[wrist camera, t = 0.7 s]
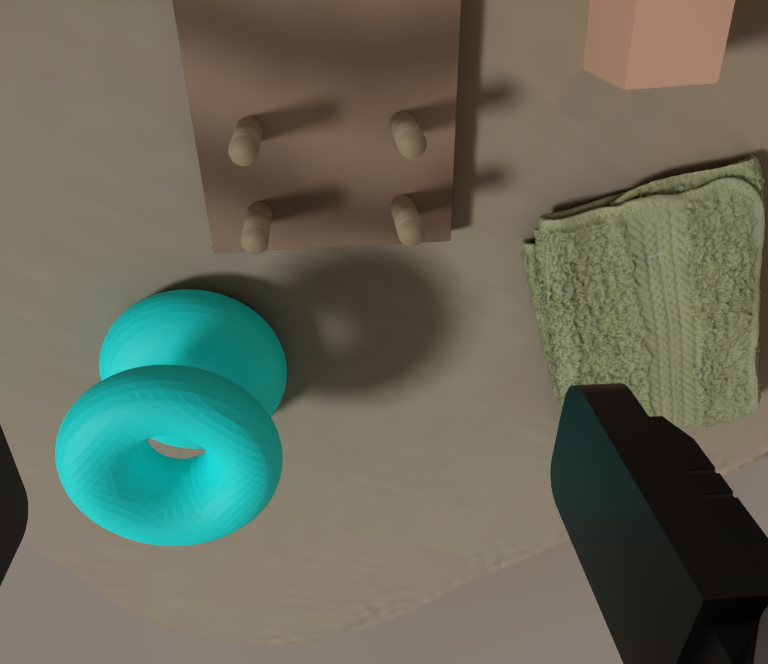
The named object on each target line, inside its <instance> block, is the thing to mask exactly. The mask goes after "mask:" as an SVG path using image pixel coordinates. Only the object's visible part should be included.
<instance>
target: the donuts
mask: <svg viewBox="0 0 768 664" xmlns="http://www.w3.org/2000/svg"><path fill="white" fill-rule="evenodd" d="M99 371H100V378H101V381H100V382H99V383H97V384H95V385H94V386H92V387H91V388H90V389H88V390H87V391H86V392H85V393H84V394H83V395H82V396H81V397H80V398H79V399H78V400H77V401H76V402H75V403H74V404H73V405H72V407H71V408H70V409H69V411H68V412H67V414H66V416H65V418H64V420H63V422H62V424H61V426H60V429H59V432H58V435H57V440H56V450H55V460H56V467H57V471H58V474H59V477H60V480H61V483H62V485H63V487H64V489H65V491H66V493H67V494H68V496H69V497H70V499H71V500H72V502H73V503H74V504H75V505H76V506H77V507H78V508H79V509H80V510H81V511H82V512H83V513H84V514H85V515H86V516H87V517H88V518H90V519H91V520H92V521H94V522H95V523H97V524H98V525H100V526H101V527H103V528H105V529H107V530H109V531H111V532H113V533H115V534H117V535H119V536H122V537H124V538H127V539H130V540H134V541H138V542H142V543H147V544H153V545H162V546H185V545H194V544H200V543H204V542H208V541H212V540H216V539H219V538H221V537H224V536H227V535H229V534H231V533H233V532H235V531H237V530H239V529H240V528H242V527H243V526H245V525H246V524H248V523H249V522H250V521H252V520H253V519H254V518H255V517H256V516H257V515H258V514H259V513H260V512H261V511H262V510H263V509H264V508H265V506H266V505H267V504H268V503H269V501H270V500H271V498H272V496H273V494H274V492H275V490H276V488H277V485H278V483H279V480H280V476H281V471H282V460H283V459H282V446H281V442H280V438H279V434H278V432H277V429H276V427H275V425H274V422H273V421H272V419H271V416H272V415H273V414H274V412H275V411H276V409H277V408H278V406H279V404H280V402H281V399H282V397H283V395H284V391H285V388H286V382H287V364H286V358H285V354H284V351H283V348H282V346H281V343H280V341H279V339H278V337H277V335H276V334H275V332H274V331H273V329H272V328H271V327H270V325H269V324H268V323H267V322H266V321H265V320H264V319H263V318H262V317H261V316H260V315H259V314H257V313H256V312H255V311H254V310H252V309H251V308H249V307H248V306H246V305H244V304H243V303H241V302H239V301H237V300H235V299H233V298H230V297H228V296H225V295H222V294H219V293H215V292H210V291H205V290H194V289H182V290H172V291H166V292H162V293H158V294H155V295H152V296H150V297H147V298H145V299H143V300H141V301H139V302H137V303H136V304H134V305H133V306H131V307H130V308H129V309H127V310H126V311H125V312H124V313H123V314H122V315H120V316H119V318H118V319H117V320H116V321H115V322H114V323H113V325H112V326H111V328H110V330H109V331H108V333H107V335H106V337H105V339H104V342H103V345H102V348H101V352H100V361H99ZM148 438H151V439H153V440H156V441H158V442H161V443H164V444H167V445H171V446H176V447H181V448H191V449H205V450H206V451H205V452H204V453H203V454H201V455H199V456H197V457H193V458H189V459H175V458H170V457H167V456H164V455H162V454H160V453H159V452H157V451H156V450H154V449H153V448H152V447H151V446H150V444H149V442H148Z"/></svg>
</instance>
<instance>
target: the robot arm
mask: <svg viewBox="0 0 768 664" xmlns="http://www.w3.org/2000/svg"><path fill="white" fill-rule="evenodd" d="M551 487H552V492H553V497H554V500H555V503H556V506H557V509H558V511H559V513H560V516H561V518H562V520H563V523H564V525H565V527H566V530H567V532H568V534H569V537H570V539H571V541H572V544H573V546H574V548H575V551H576V553H577V555H578V558H579V560H580V562H581V565H582V567H583V570H584V572H585V574H586V577H587V579H588V581H589V584H590V586H591V588H592V591H593V593H594V595H595V598H596V600H597V602H598V605H599V607H600V610H601V612H602V614H603V616H604V619H605V621H606V624H607V626H608V628H609V631H610V633H611V635H612V638H613V640H614V642H615V645H616V647H617V649H618V651H619V654H620V657H621V659H622V661H623V663H624V664H768V538H767V536H766V535H765V534H764V533H763V531H762V530H761V528H760V527H759V526H758V524H757V523H756V522H755V520H754V519H753V518H752V516H751V515H750V514H749V512H748V511H747V510H746V508H745V507H744V506H743V505H742V503H741V502H740V500H739V499H738V498H734V497H733V491H732V490H731V488H730V487H729V486H728V484H727V483H726V482H725V480H724V479H723V477H722V476H721V475H720V473H716V472H715V467H714V465H713V464H712V463H711V461H710V460H709V459H708V457H707V456H706V455H705V453H704V452H703V451H702V449H701V448H700V447H699V445H698V444H697V443H696V441H695V440H694V439H693V438H691V437H690V436H689V435H687V434H686V433H685V432H683V431H682V430H681V429H679V428H678V427H677V426H675V425H674V424H672V423H671V422H670V421H668V420H667V419H666V418H664V417H663V416H652V417H649V416H648V414H647V413H646V411H645V410H644V409H643V407H642V406H641V404H640V403H639V401H638V400H637V398H636V397H635V396H634V394H633V393H632V391H631V390H630V389H629V387H628V386H626V385H625V384H623V383H611V384H589V385H572V386H570V387H569V388H568V390H567V392H566V394H565V398H564V402H563V407H562V412H561V417H560V422H559V427H558V432H557V437H556V441H555V446H554V451H553V456H552V461H551ZM27 519H28V499H27V494H26V490H25V488H24V485H23V482H22V480H21V477H20V475H19V472H18V469H17V467H16V464H15V462H14V459H13V456H12V454H11V451H10V449H9V446H8V443H7V441H6V438H5V436H4V433H3V430H2V428H1V425H0V585H1V583H2V581H3V579H4V577H5V575H6V573H7V570H8V568H9V566H10V564H11V562H12V560H13V557H14V556H15V553H16V551H17V549H18V547H19V545H20V543H21V541H22V538H23V536H24V533H25V529H26V525H27Z"/></svg>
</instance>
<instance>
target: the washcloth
mask: <svg viewBox="0 0 768 664" xmlns="http://www.w3.org/2000/svg"><path fill="white" fill-rule="evenodd" d="M764 181H765V179H763V178H762V169H761V164H760V162H759V159H758V158H757V157H755V156H754V155H752V156H750V157H748V158H746V159H744V160H742V161H739V162H737V163H734V164H731V165H728V166H724V167H720V168H715V169H711V170H704V171H698V172H693V173H685V174H682V175H678V176H671V177H668V178H665V179H660V180H655V181H652V182H650V183H647V184H645V185H642V186H639V187H636V188H634V189H632V190H629V191H627V192H625V193H622V194H617V195H613V196H610V197H606V198H603V199H599V200H596V201H593V202H591V203H588V204H584V205H581V206H578V207H574V208H572V209H569V210H564V211H559V212H554V213H549V214H543V215H541V216H540V218H539V219H538V229H533V232H534V236H535V237H534V238H529V239H524V240H523V245H522V246H523V253H522V254H521V256H522V258H523V260H524V263H523V264H524V267H525V273H526V278H525V280H528V281H529V282H528V284H529V285H530V288H531V293H532V294H533V295H532V297H531V300H532V303H533V307H534V308H535V312H536V315H537V321H538V322H539V325H538V326H539V328H540V335H541V339H542V340H541V341H542V342H543V345H544V348H543V349H544V354H545V356H546V357H547V360H548V361H549V362H548V366H549V375H550V376H551V377H552V382H553V391H554V394H555V395H556V396H557V397H558V405H559V408H560V413H561V412H562V407H563V402H564V398H565V394H566V392H567V390H568V388H569V387H570V386H572V385H589V384H611V383H623V384H625V385H626V386H628V387H629V389H630V390H631V391H632V393H633V394H634V396H635V397H636V398H637V400H638V401H639V403H640V404H641V406H642V407H643V409H644V410H645V411H646V413H647V414H648V416H649V417H652V416H663V417H664V418H666V419H667V420H668V421H670V422H671V423H672V424H674V425H675V426H677V427H678V428H680V427H685V426H694V427H697V428H701V427H704V426H706V427H708V426H711V425H715V424H721V423H729V422H730V421H734V420H739V419H742V418H744V417H745V416H748V415H751V414H753V413H755V412H756V411H757V408H758V406H759V405H758V403H759V402H760V399H761V395H760V394H759V393H760V391H761V381H760V380H759V379H758V376H759V374H758V366H759V364H758V360H759V352H760V348H759V345H760V343H759V341H758V337H759V329H760V326H761V324H760V321H759V311H760V308H761V306H760V304H761V296H760V294H761V289H760V288H759V285H760V276H761V275H762V271H761V264H762V250H763V248H765V246H764V238H765V237H766V236H765V234H764V233H765V226H766V224H765V212H764V211H765V210H766V208H765V206H766V204H767V203H766V202H765V201H764V200H763V196H764V195H763V191H764Z"/></svg>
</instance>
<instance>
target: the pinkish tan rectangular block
mask: <svg viewBox="0 0 768 664" xmlns="http://www.w3.org/2000/svg"><path fill="white" fill-rule="evenodd" d="M734 5H735V0H590V7H589V16H588V26H587V35H586V45H585V54H584V64H583V70H585V71H587V72H589V73H591V74H593V75H595V76H597V77H599V78H601V79H603V80H605V81H607V82H609V83H611V84H613V85H615V86H617V87H619V88H621V89H623V90H631V89H645V88H658V87H671V86H684V85H697V84H711V83H718V81H719V76H720V71H721V66H722V62H723V57H724V52H725V47H726V43H727V38H728V33H729V28H730V24H731V19H732V14H733V9H734Z"/></svg>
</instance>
